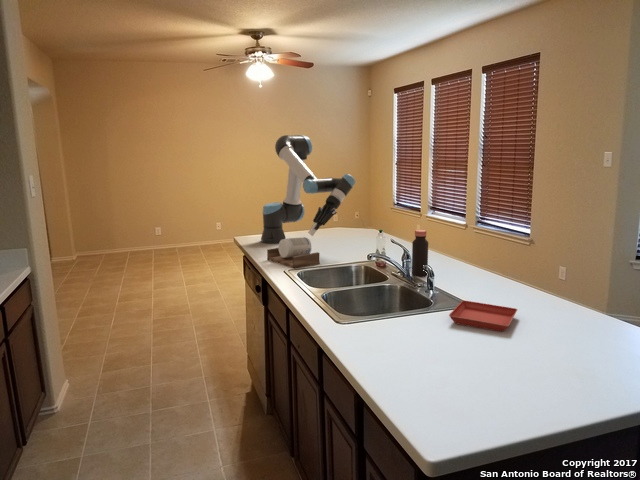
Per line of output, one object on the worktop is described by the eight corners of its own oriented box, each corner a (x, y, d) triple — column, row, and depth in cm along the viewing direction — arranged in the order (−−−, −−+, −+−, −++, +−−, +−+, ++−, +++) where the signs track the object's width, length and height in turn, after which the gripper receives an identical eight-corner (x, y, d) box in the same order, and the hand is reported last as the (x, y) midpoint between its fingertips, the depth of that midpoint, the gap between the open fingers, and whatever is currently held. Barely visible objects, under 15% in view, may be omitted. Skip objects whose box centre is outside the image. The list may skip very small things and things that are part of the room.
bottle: (409, 276, 208) (410, 231, 204) (414, 272, 214) (415, 228, 210) (424, 277, 205) (426, 232, 201) (429, 274, 211) (430, 230, 207)
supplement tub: (300, 238, 249) (276, 240, 240) (311, 235, 241) (287, 237, 232) (302, 257, 248) (279, 259, 239) (313, 254, 240) (289, 256, 231)
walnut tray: (267, 259, 242) (267, 249, 241) (291, 255, 251) (291, 245, 250) (294, 268, 223) (294, 257, 222) (319, 263, 233) (319, 252, 232)
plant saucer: (517, 317, 157) (518, 308, 156) (508, 335, 141) (508, 325, 141) (462, 309, 166) (462, 299, 165) (447, 325, 151) (448, 315, 150)
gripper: (347, 204, 247) (322, 240, 240) (331, 203, 257) (307, 236, 250) (339, 195, 243) (314, 231, 236) (323, 193, 253) (298, 228, 246)
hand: (310, 234), depth 243 cm, fingers closed
